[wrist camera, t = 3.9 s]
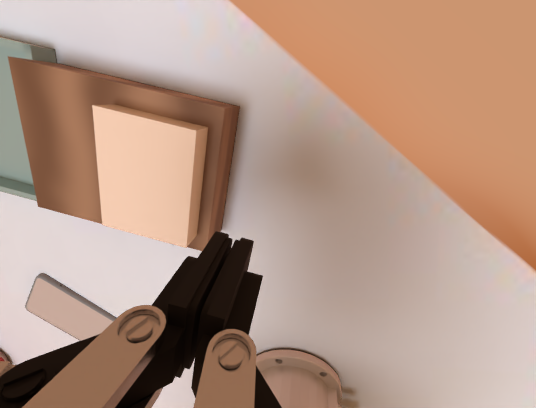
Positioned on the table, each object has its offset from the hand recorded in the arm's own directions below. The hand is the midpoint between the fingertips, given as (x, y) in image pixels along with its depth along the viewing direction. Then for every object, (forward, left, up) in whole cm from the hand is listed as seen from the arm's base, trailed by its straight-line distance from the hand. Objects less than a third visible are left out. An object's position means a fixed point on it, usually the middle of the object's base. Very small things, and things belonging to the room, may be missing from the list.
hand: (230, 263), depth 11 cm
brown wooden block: (+12, +1, -13) cm, 17 cm away
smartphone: (+21, +27, -13) cm, 37 cm away
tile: (+8, +1, -9) cm, 12 cm away
